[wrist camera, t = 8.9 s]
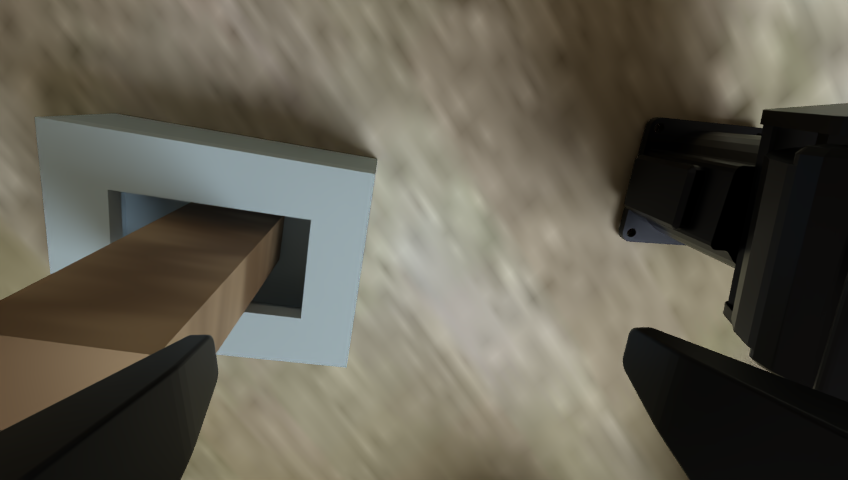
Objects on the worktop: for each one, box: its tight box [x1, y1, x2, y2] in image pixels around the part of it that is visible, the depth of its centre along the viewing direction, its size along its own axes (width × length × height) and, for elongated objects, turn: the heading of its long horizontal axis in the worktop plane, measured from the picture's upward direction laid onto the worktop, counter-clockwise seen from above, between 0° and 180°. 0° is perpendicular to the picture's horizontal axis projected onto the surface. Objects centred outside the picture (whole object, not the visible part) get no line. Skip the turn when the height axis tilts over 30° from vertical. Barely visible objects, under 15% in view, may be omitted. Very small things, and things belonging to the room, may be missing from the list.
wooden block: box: [0, 202, 285, 430], centre depth 15 cm, size 4×2×12 cm, turn 77°
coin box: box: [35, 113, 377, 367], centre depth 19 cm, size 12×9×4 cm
